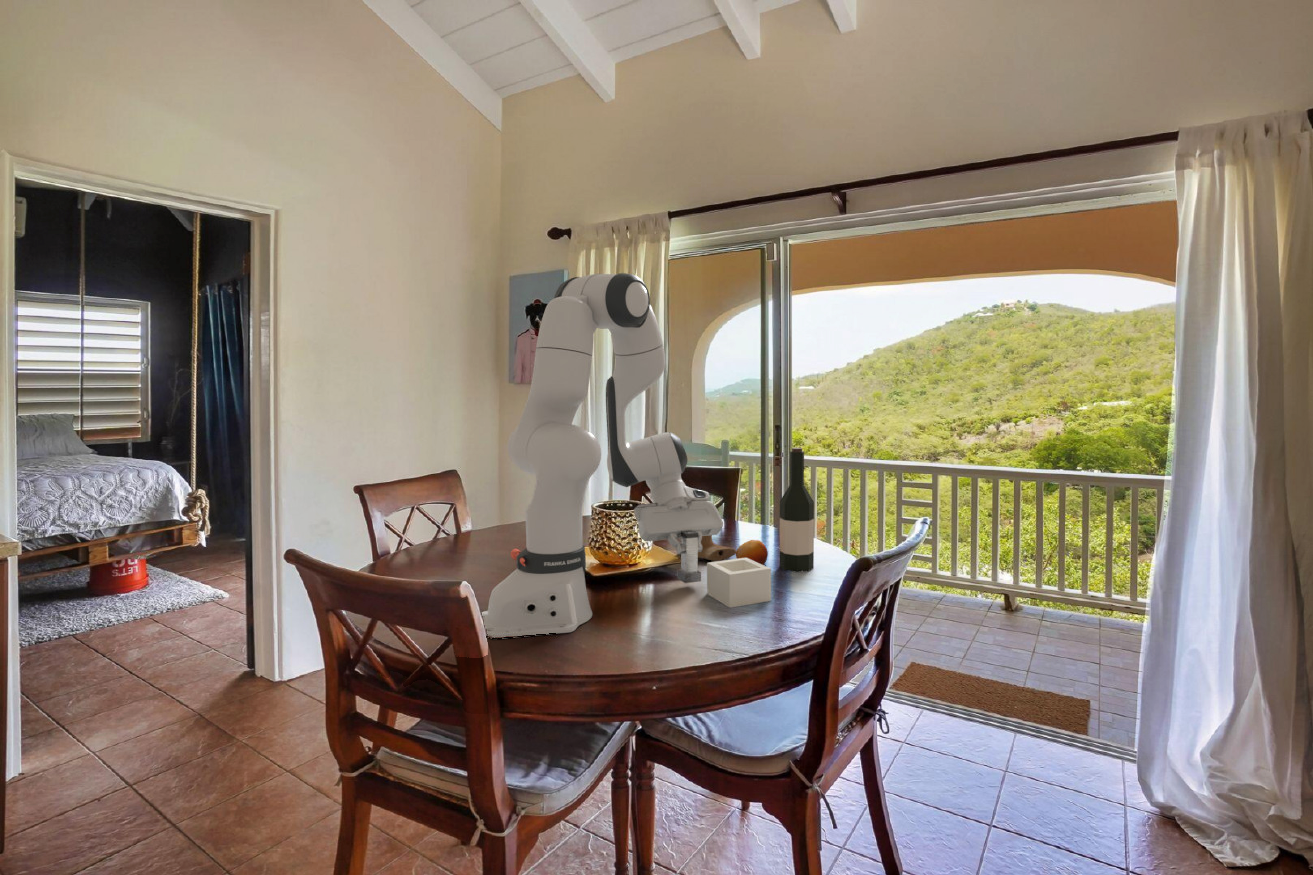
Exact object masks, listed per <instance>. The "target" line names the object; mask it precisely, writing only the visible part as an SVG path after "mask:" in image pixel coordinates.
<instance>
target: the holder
mask: <svg viewBox="0 0 1313 875" xmlns="http://www.w3.org/2000/svg"><path fill="white" fill-rule="evenodd" d="M706 594H707V595H709V596H710V597H711V598H713V599H714V600H716V601H718V602H719V603H722V604H723V605H725V606H726V607H728V608H737V607H741V606H747V605H754V604H759V603H760V604H761V603H766V602H771V601H772V600H771V599H772V568H771V567H768V566H767V565H766V566H765V565H762V564H760V563H757V562H755V561H753V560H751V559H748V558H739V559H737V558H732V559H725V560H722V561H711V562H707V563H706Z"/></svg>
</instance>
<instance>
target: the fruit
mask: <svg viewBox="0 0 1313 875" xmlns="http://www.w3.org/2000/svg"><path fill="white" fill-rule="evenodd" d="M768 552H769V551H768V549H767V547H766V545H765V544H764V542H762V541H761V540H759V539H750V540H748V541H746V542H744V543H742V544H741V545H739V546H738V548H737V549H736V554H735V557H736V558H735V559H739V558H748V559H751V560H753V561H755V562H757V563H760V564H762V565H764V566H766V567H767V565H766V562H767V559H768V554H769V553H768Z"/></svg>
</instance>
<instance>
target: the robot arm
mask: <svg viewBox="0 0 1313 875" xmlns="http://www.w3.org/2000/svg"><path fill="white" fill-rule="evenodd" d="M597 329H600V330H604V329H608V331H609V332H610V336H611V342H612V348H613V353H614V358H615V359H614V360H615V361H614V362H615V363H614V369H613V372H612V375H611V376H610V377H609V378H608V379H607V381H606V385H605V411H606V412H605V415H606V431H607V432H606V433H607V434H606V436H607V458H606V466H607V472H608V474H609V477H610V479H611V481H612V482H614V483H615V484H617V485H620V486H621V487H625V488H628V487H631V486H634V485H637V484H639V483H641V482H643V481H645V483H646V485H647V487H648V488H649V489H650V497H651V500H652V502H651V503H641V504H638V505H637V506H635V507H634V509H633V513H634V516H635V519H636V520H637V526H638V533H639V535H640V538H641V540H643V541H644V542H654V541H656V542H657V541H665V540H667V541H668V543H669V544H670V545H671V546H672V547H673V548H674V549H675V550H676V553H677V555H681V554H684V553H685V551H686V548H685V545H684V544H681V542H680V541H679V540H678V539H681V531H691V530H693V531H695V532H697V533H698V552H701V551H702V549H703V548H702V545H701V539H702V536H708V535H712V536H717V535H718V534H719V533H720V532H721V530H722V528H723V527H724V522H723V521H724V520H723V519H722V516H721V514H720V512H719V510H718V508H717V507H716V505H715V504H714V503H713V502H712V501H710V498H711V496H710V493H709V492H708V491H706V490H701V489H697V488H692V487H689V486H687V485H686V483H685V482H684V480H683V479H682V474H683V473H684V471H685V469H686V467H687V464H688V455H687V453H686V449H685V448H684V445H683V442H682V440H681V437H679V436H678V435H677V434H675V433H673V432H671V431H667V432H662V433H657V434H654V435H650V436H647V437H644V438H640V439H637V440H633V441H627V439H626V438H627V437H626V422H625V421H626V420H625V419H626V418H625V417H626V416H625V414H626V411H627V410H626V409H627V408H628V407H629V406H628V405H629V404H630V403H631V402H632V401H633V400H634V399H636V398H637V397H638V396H639V395H640V394H642V393H644V392H645V391H646V390H648V389H649V388H651V387H652V386H653V385H655V384H656V383H657V382H658V380H659V379H660V378H661V377H662V375H663V373H664V371H665V369H666V352H665V347H664V343H663V337H662V333H661V331H660V326H659V324H658V320H657V316H656V315H655V312H654V310H653V306H652V305H651V297H650V293H649V289H648V288H647V285H646V284H645V283H644V281H643V279H641V278H640V276H637V275H635V274H632V273H626V272H620V273H594V274H588V275H584V276H575V277H571V278H569V279H567V280H564V281H563V282H562V283H560V285H558V288H557V290H556V292H555V294H554V298H553V299H551V300H550V301H549V302H548V304H547V305H546V307H545V309H544V313H543V315H542V318H541V321H540V325H539V331H538V334H537V335H538V336H537V339H536V340H537V341H536V345H535V346H536V347H535V355H534V363H533V370H532V378H531V384H530V385H531V386H530V388H529V392H528V397H527V400H526V402H525V406H524V409H523V411H522V414H521V416H520V419H519V422H518V424H517V426H516V428H515V429H514V430H513V431H512V433H511V434H510V436H509V439H508V440H507V441H508V442H507V452H508V453H507V454H508V456H509V458H510V460H511V462H512V463H513V464H514V465H515V466H516V467H518V468H519V469H521V471H523V472H524V473H526V474H529V475H533V476H535V485H534V491H533V495H532V499H531V501H530V503H529V504H528V505H527V507H526V509H525V537H526V538H525V539H526V546H525V548H524V549H523V550H520V549H518V548H513V549H512V550H511V551H510V557H511V558H512V559H513V560H514V561H515V562H516V569H515V570H514V571H513V572H511V573H510V574H509V575H508V576H506V578H504V579H503V580H502V581H501V582H500V583H498V584H497V585H495V587H494V588H493V589H492V591H491V593H490V596H489V599H488V605H487V606H488V607H487V610H485V611H481V613H482V616H483V619H484V625H485V629H487V634H488V636H489V635H490V636H492V637H494V638H495V637H506V636H522V635H535V636H537V635H536V634H546V635H550V634H549V633H556V634H567V633H572V632H574V631H576V629H578V627H579V626H580V625H583V624H585V623H586V622H588V621H590V619H592V617H593V611H592V608H591V604H590V601H589V598H588V596H589V595H588V593H587V588H586V587H587V586H586V585H587V584H586V578H585V573H586V567H587V559H586V558H587V557H586V548H585V546H584V544H583V506H584V501H585V496H586V492H587V488H588V485H589V482H590V479H591V477H592V475H594V474H595V472H596V471H597V470H598V468H599V466H600V464H601V460H602V449H601V448H602V447H601V445H600V442H599V441H598V438H597V437H596V436H595V435H594V434H592V432H589V431H588V430H586V429H585V428H582V427H580V426H579V425H576V424H573V421H574V418H575V416H576V414H577V412H578V409H579V407H580V405H581V404H582V403H583V402H584V400H585V399H587V396H588V394H589V384H590V377H591V370H592V369H591V368H592V361H593V351H594V334H595V332H596V330H597Z"/></svg>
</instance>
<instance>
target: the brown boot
mask: <svg viewBox="0 0 1313 875" xmlns="http://www.w3.org/2000/svg"><path fill="white" fill-rule="evenodd" d="M701 545H702V548H703V549H702V551H701V552H698V559H702V560H708V561H711V562H716V561H724V560H729V559H730V558H732V557H733V556H734V555H735V556H736V551H737V549H735V548H732V547H728V546H724V545H723V546H722V545H719V544H716V543H714V542H713V535H708V536H702V539H701Z"/></svg>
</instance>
